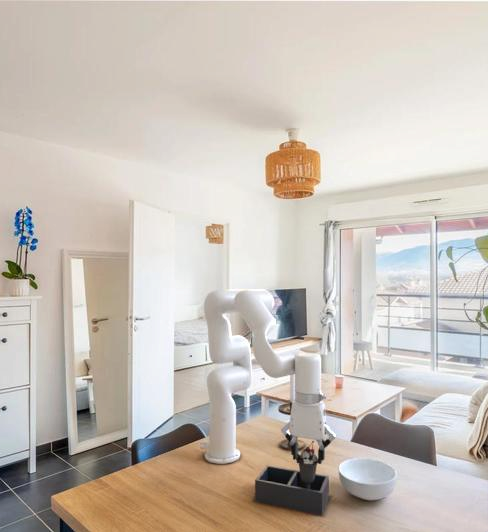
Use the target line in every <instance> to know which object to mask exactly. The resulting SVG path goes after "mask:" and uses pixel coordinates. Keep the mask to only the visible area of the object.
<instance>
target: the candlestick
mask: <svg viewBox="0 0 488 532" xmlns="http://www.w3.org/2000/svg"><path fill="white" fill-rule="evenodd" d="M294 399H295V374H294V375H289V399H288V400H287V402H288V403H283V404H280V405H279V406H278V407H277V408H278V412H279V413H280V414H282V415H286V416H291V408H292V402H293V400H294ZM289 433H290V431H289ZM296 441H297V442H298V452H299V451H303V450H304V449H305V442H304V441H303V440H301V439H297V440H296ZM280 448H282V449H283V450H285V451H288V452H289V451H290V452H291V445H290V442H289V441H288V440H287V438H285V439H283V440H281V442H280Z"/></svg>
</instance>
